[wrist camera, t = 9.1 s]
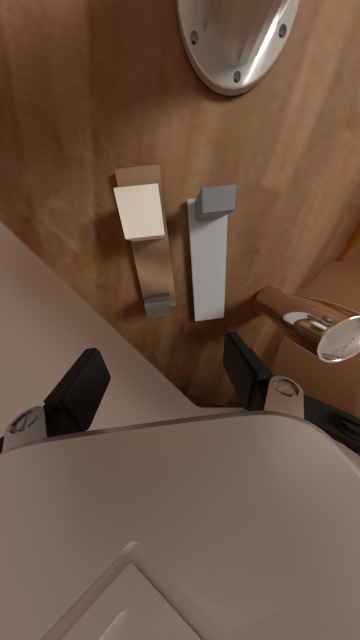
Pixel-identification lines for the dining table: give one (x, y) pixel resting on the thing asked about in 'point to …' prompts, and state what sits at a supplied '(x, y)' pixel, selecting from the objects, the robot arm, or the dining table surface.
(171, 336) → the dining table surface
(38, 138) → the dining table surface
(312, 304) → the beer glass
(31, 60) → the dining table surface
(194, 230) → the grey strip
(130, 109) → the dining table surface
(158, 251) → the brown long piece
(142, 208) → the cream block
